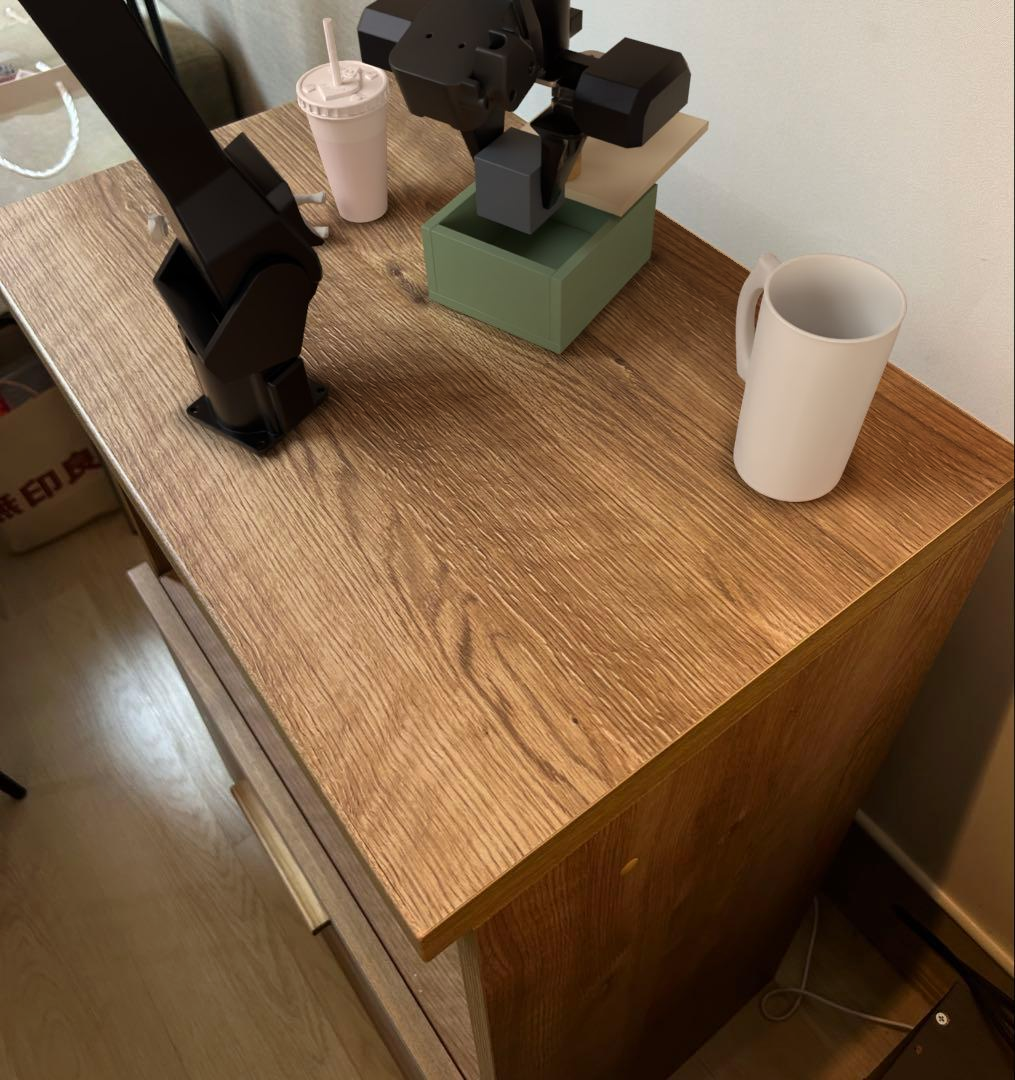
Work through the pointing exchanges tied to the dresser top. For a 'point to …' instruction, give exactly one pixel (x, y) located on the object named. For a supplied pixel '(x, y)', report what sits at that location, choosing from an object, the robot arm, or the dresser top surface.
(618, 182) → the slide lid
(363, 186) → the smoothie
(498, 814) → the dresser top surface
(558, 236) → the box
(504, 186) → the block
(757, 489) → the mug
